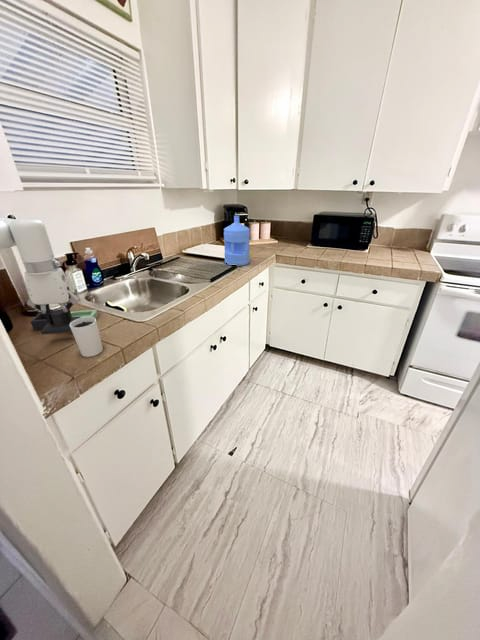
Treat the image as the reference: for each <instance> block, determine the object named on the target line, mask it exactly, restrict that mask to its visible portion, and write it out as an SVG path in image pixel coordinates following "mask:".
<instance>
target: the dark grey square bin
mask: <svg viewBox="0 0 480 640" xmlns="http://www.w3.org/2000/svg"><path fill="white" fill-rule="evenodd" d="M29 322H30V325H31V328H32V329H33V331H41V330H42V329H43V328H44V327H45V326H46V325H47V324H48V323H49V322H48V321H47V319H46V317H45V314H43V313H42V312H39V313H37V314H36V316H35V317H33V318H32V319H31V320H30V321H29Z"/></svg>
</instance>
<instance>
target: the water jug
mask: <svg viewBox="0 0 480 640" xmlns="http://www.w3.org/2000/svg"><path fill="white" fill-rule="evenodd" d="M250 231H251V230H250V228H249V227H248V226H246V225H244V224H242V223H241V222H240V215H233V223H232V224H230V225H228V226H226V227H224V228H223V241H224V263H225V265H226V266H230V267H232V266H231V265H230V264H236V266H235V267H244V266H247V265H249V264H250V249H251V247H250V236H251V232H250ZM226 263H227V264H226Z"/></svg>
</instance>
